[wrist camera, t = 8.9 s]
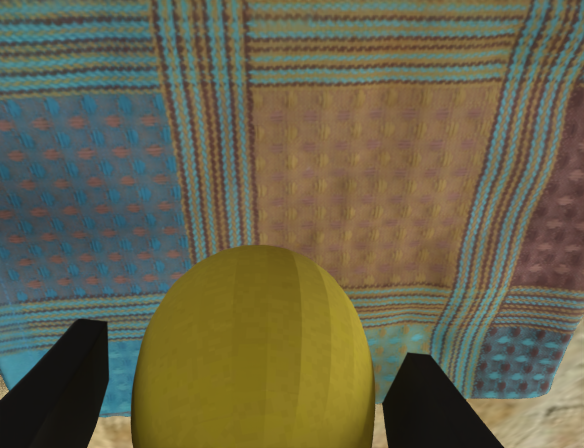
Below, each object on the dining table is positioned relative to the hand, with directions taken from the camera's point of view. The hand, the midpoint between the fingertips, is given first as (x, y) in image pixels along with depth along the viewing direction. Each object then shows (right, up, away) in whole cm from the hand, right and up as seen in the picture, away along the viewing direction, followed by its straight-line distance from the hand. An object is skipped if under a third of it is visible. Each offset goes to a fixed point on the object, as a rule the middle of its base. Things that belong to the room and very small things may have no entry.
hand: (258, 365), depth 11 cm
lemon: (0, +2, +3) cm, 4 cm away
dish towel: (+1, +3, +6) cm, 7 cm away
